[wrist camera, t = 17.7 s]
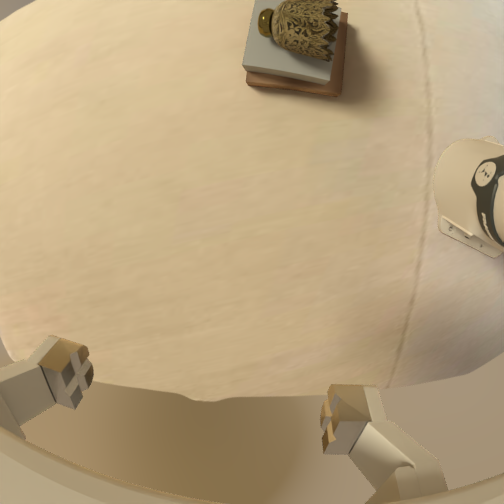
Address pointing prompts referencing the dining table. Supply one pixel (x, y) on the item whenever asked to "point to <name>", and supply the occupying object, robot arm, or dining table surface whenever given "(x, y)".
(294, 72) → the tower top
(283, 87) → the tower base
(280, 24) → the cup
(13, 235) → the dining table surface
